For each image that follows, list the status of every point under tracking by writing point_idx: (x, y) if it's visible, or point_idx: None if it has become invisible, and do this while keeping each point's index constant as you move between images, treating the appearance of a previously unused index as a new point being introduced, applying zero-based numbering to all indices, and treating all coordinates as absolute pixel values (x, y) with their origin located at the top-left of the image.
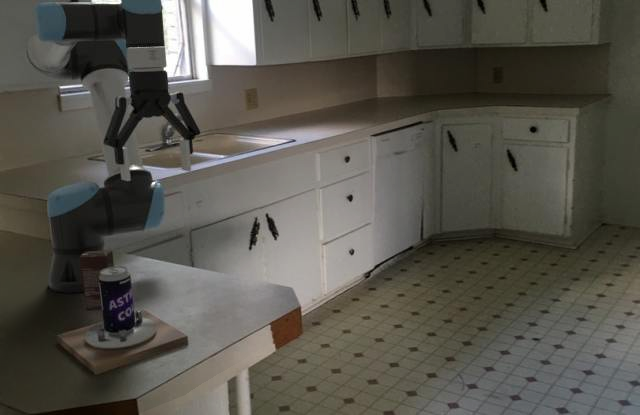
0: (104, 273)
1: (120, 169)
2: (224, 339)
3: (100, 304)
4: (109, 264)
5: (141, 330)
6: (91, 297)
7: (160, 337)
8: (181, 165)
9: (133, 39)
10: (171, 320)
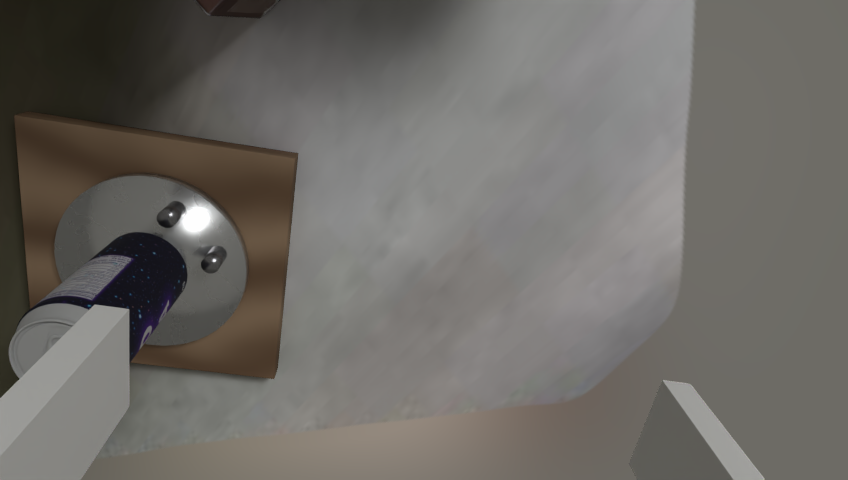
0: (23, 354)
1: (45, 355)
2: (344, 409)
3: None
4: (236, 1)
5: (191, 305)
6: None
7: (223, 341)
8: (679, 401)
9: None
10: (331, 237)
